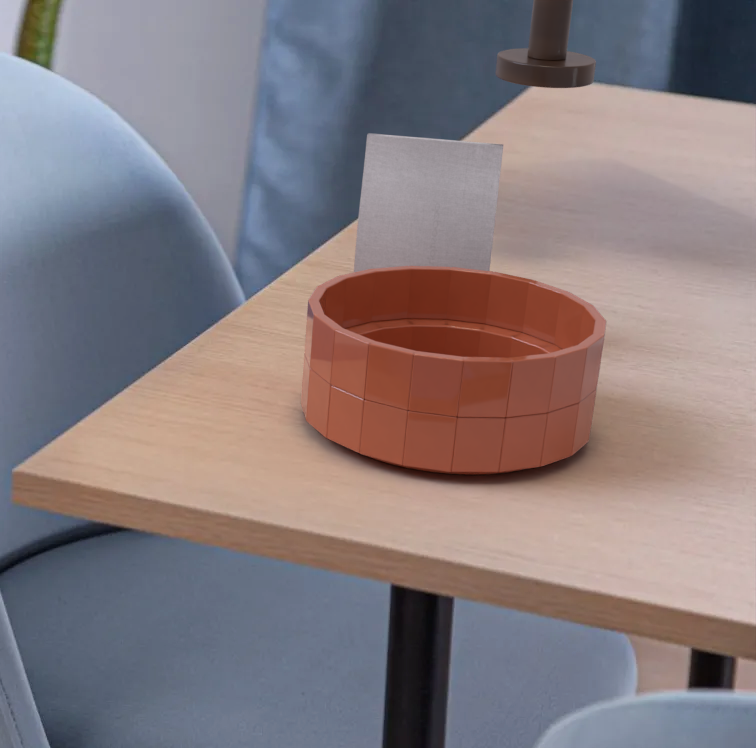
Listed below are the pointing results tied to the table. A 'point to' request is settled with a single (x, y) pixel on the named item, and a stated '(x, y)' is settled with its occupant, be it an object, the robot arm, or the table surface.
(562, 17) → the rod
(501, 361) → the bowl
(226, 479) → the table surface
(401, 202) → the grey rectangular block
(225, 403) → the table surface
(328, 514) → the table surface
